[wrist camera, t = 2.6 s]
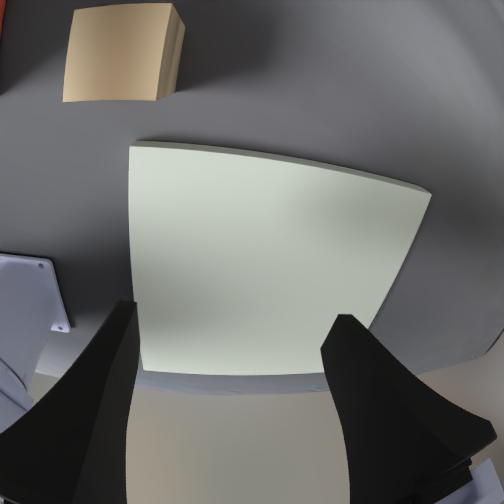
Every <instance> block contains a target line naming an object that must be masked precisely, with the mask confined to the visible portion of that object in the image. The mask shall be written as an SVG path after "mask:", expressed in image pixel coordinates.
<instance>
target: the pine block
mask: <svg viewBox="0 0 504 504" xmlns="http://www.w3.org/2000/svg"><path fill="white" fill-rule="evenodd" d="M185 28H186V27H185V26H184V24H183V22H182V20H181V18H180V16H179V15H178V13H177V11H176V9H175V8H174V6H173V4H172V3H140V4H121V5H109V6H100V7H92V8H85V9H78V10H75V11H74V16H73V21H72V26H71V32H70V38H69V44H68V51H67V59H66V67H65V78H64V90H63V102H70V101H87V100H158V99H160V98H163V97H165V96H167V95H170V94H172V93H175V87H176V80H177V73H178V67H179V61H180V55H181V49H182V44H183V38H184V33H185Z"/></svg>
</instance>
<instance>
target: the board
mask: <svg viewBox="0 0 504 504" xmlns="http://www.w3.org/2000/svg"><path fill="white" fill-rule="evenodd" d="M431 196H432V194H431V193H429V192H428V191H426V190H425V189H424V188H422V187H421V186H418V185H414V184H410V183H407V182H403V181H400V180H396V179H392V178H388V177H384V176H380V175H376V174H372V173H368V172H364V171H359V170H355V169H351V168H346V167H341V166H337V165H332V164H327V163H322V162H317V161H312V160H306V159H301V158H295V157H289V156H283V155H277V154H271V153H264V152H257V151H250V150H242V149H235V148H226V147H217V146H208V145H198V144H186V143H173V142H158V141H138V140H136V141H135V142H134V143H133V144H132V145H131V146H130V154H129V236H130V256H131V271H132V283H133V294H134V302H137V310H138V321H139V332H140V341H141V342H140V350H141V356H142V362H143V368H144V370H150V371H161V372H174V373H189V374H212V375H278V374H301V373H317V372H324V368H323V363H322V357H321V351H320V348H321V346H322V344H323V342H324V341H325V339H326V337H327V335H328V333H329V331H330V329H331V327H332V325H333V323H334V321H335V319H336V317H337V316H338V314H352V315H353V316H354V317H356V318H357V319H358V320H359V321H360V322H361V323H362V324H363V325H364V326H365V327H366V328H367V329H368V328H369V326H370V324H371V322H372V321H373V319H374V317H375V315H376V314H377V312H378V310H379V308H380V306H381V304H382V303H383V301H384V299H385V297H386V295H387V293H388V291H389V289H390V287H391V286H392V284H393V282H394V280H395V278H396V276H397V274H398V272H399V270H400V268H401V265H402V263H403V261H404V259H405V257H406V255H407V253H408V251H409V248H410V246H411V244H412V242H413V240H414V237H415V235H416V233H417V230H418V228H419V226H420V223H421V221H422V218H423V216H424V214H425V211H426V209H427V206H428V203H429V201H430V198H431Z"/></svg>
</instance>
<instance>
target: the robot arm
mask: <svg viewBox="0 0 504 504" xmlns="http://www.w3.org/2000/svg"><path fill="white" fill-rule="evenodd" d="M41 264H42V265H43V266H42V265H41ZM70 329H71V327H70V324H69V321H68V318H67V315H66V311H65V308H64V305H63V301H62V298H61V294H60V291H59V287H58V283H57V279H56V275H55V271H54V267H53V264H52V262H51V261H50V260H49V259H44V258H35V257H26V256H17V255H9V254H1V253H0V499H1V498H3V499H4V503H3V502H0V504H127V498H126V457H125V456H126V431H127V422H128V416H129V410H130V405H131V399H132V394H133V389H134V384H135V379H136V374H137V369H138V361H139V352H140V342H141V341H140V332H139V321H138V310H137V302H132V301H123V300H119V301H118V302H117V303H116V304H115V306H114V308H113V309H112V311H111V312H110V314H109V315H108V317H107V318H106V320H105V321H104V323H103V324H102V326H101V327H100V329H99V330H98V332H97V333H96V334H95V336H94V337H93V338H92V340H91V341H90V343H89V344H88V345H87V347H86V348H85V349H84V351H83V352H82V353H81V354H80V356H79V357H78V358H77V359H76V361H75V362H74V363H73V364H72V366H71V367H70V368H69V369H68V371H67V372H66V373H65V374H64V375H63V376H62V377H61V379H60V380H59V381H58V382H57V383H56V384H55V385H54V386H53V387H52V388H51V389H50V390H49V391H48V393H46V394H45V395H44V397H42V399H40V401H39V402H37V403H36V404H35V405H34V406H33V407H32V405H33V402H34V399H33V398H32V397H31V396H30V395H29V394H28V389H29V386H30V383H31V380H32V377H33V374H34V372H35V369H36V366H37V363H38V360H39V358H40V355H41V352H42V350H43V347H44V345H45V342H46V340H47V337H48V335H49V332H50V330H55V331H61V332H69V331H70ZM320 351H321V357H322V363H323V368H324V373H325V376H326V379H327V382H328V385H329V388H330V391H331V394H332V397H333V400H334V403H335V406H336V409H337V412H338V415H339V419H340V422H341V425H342V430H343V435H344V440H345V446H346V453H347V460H348V469H349V481H350V504H499V503H501V502H502V501H503V500H504V493H503V490H502V487H501V484H500V482H499V479H498V476H497V474H496V472H495V469H494V467H493V464H492V462H491V459H490V458H488V459H487V460H485V461H483V462H482V463H480V464H479V465H477V466H476V467H474V468H473V469H471V470H469V467H468V466H470V465H471V464H472V461H471V459H470V458H471V457H472V456H474V455H475V454H476V453H478V452H479V451H480V450H482V449H484V448H485V447H486V446H487V445H489V444H491V443H492V442H493V441H494V440H496V439H497V435H496V432H495V430H494V428H493V426H492V424H491V422H490V421H488V420H486V419H484V418H481V417H479V416H477V415H474V414H472V413H470V412H468V411H466V410H464V409H462V408H460V407H459V406H457V405H455V404H453V403H452V402H450V401H448V400H447V399H445V398H444V397H442V396H441V395H439V394H438V393H436V392H435V391H434V390H432V389H431V388H430V387H428V386H427V385H426V384H424V383H423V382H422V381H421V380H419V379H418V378H417V377H416V376H415V375H413V374H412V373H411V372H410V371H409V370H408V369H407V368H406V367H405V366H404V365H402V364H401V363H400V362H399V361H398V360H397V359H396V358H395V357H394V356H393V355H392V354H391V353H390V352H389V351H388V350H387V349H386V348H385V347H384V346H383V345H382V344H381V343H380V342H379V341H378V340H377V339H376V338H375V337H374V336H373V335H372V333H371V332H370V331H369V330H368V329H367V328H366V327H365V326H364V325H363V324H362V323H361V322H360V321H359V320H358V319H357V318H356V317H354V316H353V315H352V314H338V316H337V317H336V319H335V321H334V323H333V325H332V327H331V329H330V331H329V333H328V335H327V337H326V339H325V341H324V342H323V344H322V346H321V348H320Z"/></svg>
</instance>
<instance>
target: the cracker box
mask: <svg viewBox="0 0 504 504" xmlns="http://www.w3.org/2000/svg"><path fill="white" fill-rule="evenodd" d="M5 3H6V0H0V38H1V30H2V22H3V15H4V9H5Z"/></svg>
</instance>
